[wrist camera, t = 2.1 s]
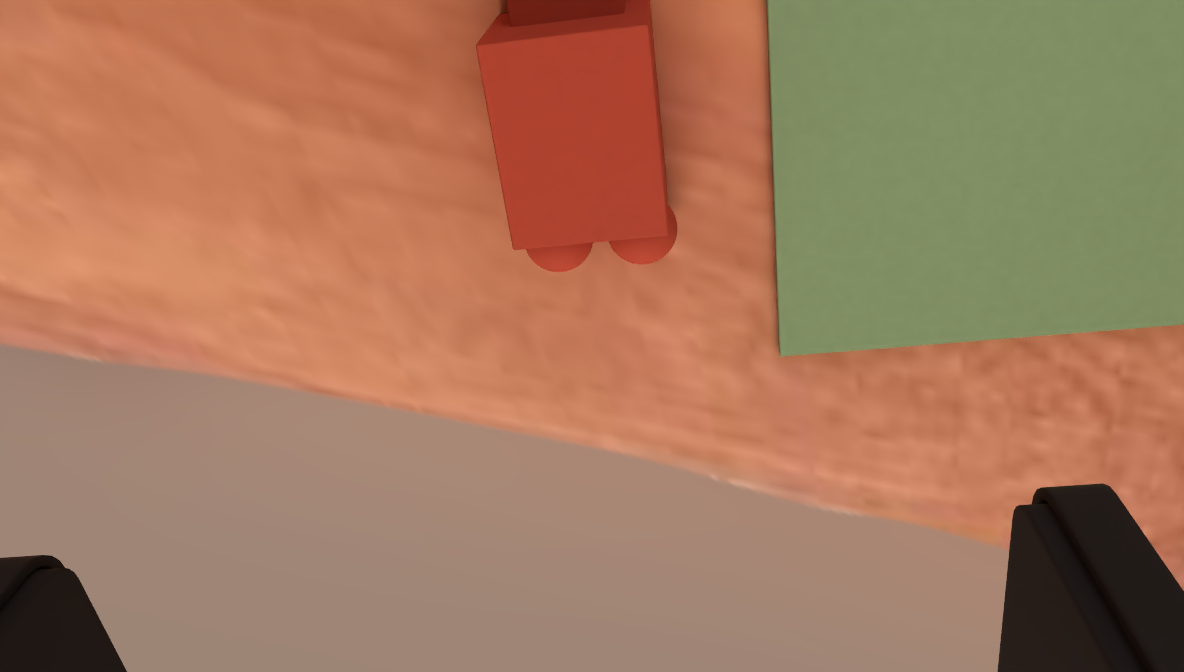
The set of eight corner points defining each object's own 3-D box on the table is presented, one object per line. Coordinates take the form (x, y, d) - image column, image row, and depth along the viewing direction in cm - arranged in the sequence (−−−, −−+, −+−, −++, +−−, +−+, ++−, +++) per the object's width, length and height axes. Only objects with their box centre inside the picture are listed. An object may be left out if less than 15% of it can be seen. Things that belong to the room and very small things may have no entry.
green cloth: (759, -193, 22) (760, -193, 22) (1706, -330, 20) (1721, -332, 20) (778, 352, 29) (780, 356, 29) (1476, 296, 27) (1485, 301, 27)
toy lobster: (473, -92, 24) (443, -77, 20) (646, -116, 23) (645, -104, 20) (533, 257, 28) (517, 316, 25) (679, 243, 28) (682, 302, 24)
